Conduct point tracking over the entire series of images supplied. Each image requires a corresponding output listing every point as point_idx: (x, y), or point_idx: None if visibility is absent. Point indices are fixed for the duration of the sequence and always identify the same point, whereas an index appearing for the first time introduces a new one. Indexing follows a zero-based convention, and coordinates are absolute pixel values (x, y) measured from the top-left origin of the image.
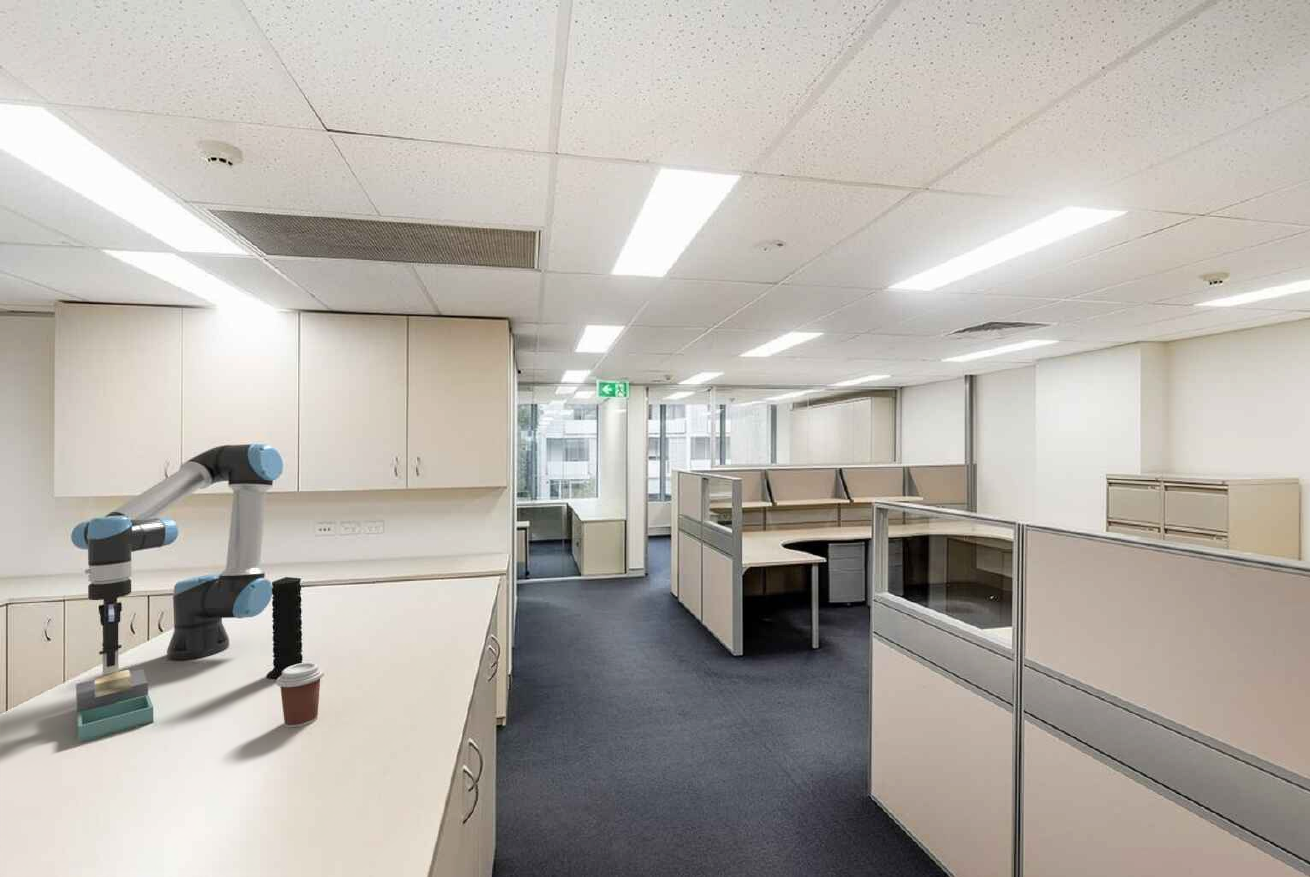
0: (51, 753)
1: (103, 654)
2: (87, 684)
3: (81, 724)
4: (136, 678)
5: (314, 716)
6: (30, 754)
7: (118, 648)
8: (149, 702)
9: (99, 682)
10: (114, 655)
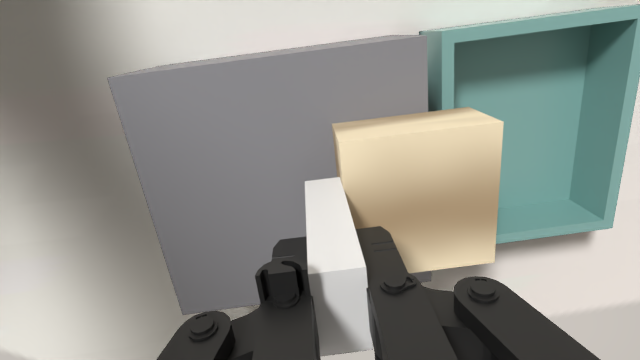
0: (583, 250)
1: (371, 340)
2: (224, 277)
3: (595, 223)
4: (293, 95)
5: None
6: (539, 290)
7: (490, 283)
8: (568, 21)
9: (479, 248)
10: (406, 269)
